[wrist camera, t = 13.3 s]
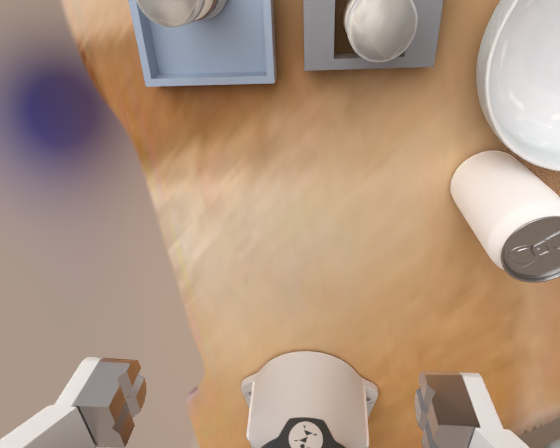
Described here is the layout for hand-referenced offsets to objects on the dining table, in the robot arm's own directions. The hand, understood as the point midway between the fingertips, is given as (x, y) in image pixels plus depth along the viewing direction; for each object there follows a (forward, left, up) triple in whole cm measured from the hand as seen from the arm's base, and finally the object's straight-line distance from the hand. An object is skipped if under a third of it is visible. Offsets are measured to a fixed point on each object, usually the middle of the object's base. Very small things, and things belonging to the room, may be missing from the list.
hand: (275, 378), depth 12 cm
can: (-7, -17, -29) cm, 35 cm away
